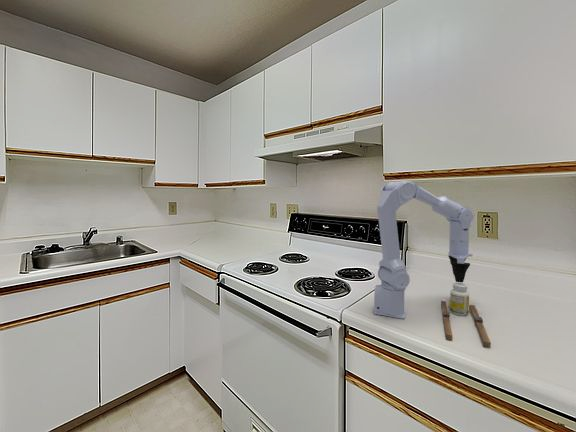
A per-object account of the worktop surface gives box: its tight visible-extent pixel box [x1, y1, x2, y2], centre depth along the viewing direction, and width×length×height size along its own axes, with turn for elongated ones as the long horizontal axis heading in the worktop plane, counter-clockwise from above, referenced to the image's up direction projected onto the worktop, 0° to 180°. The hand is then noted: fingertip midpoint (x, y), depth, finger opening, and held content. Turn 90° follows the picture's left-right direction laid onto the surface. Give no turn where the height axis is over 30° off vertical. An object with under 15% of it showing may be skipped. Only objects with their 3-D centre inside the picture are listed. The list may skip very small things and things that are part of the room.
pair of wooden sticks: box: [440, 300, 492, 349], centre depth 85 cm, size 10×26×2 cm, turn 154°
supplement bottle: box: [449, 282, 470, 317], centre depth 92 cm, size 5×5×10 cm
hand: (458, 278), depth 97 cm, fingers open, 7 cm apart
